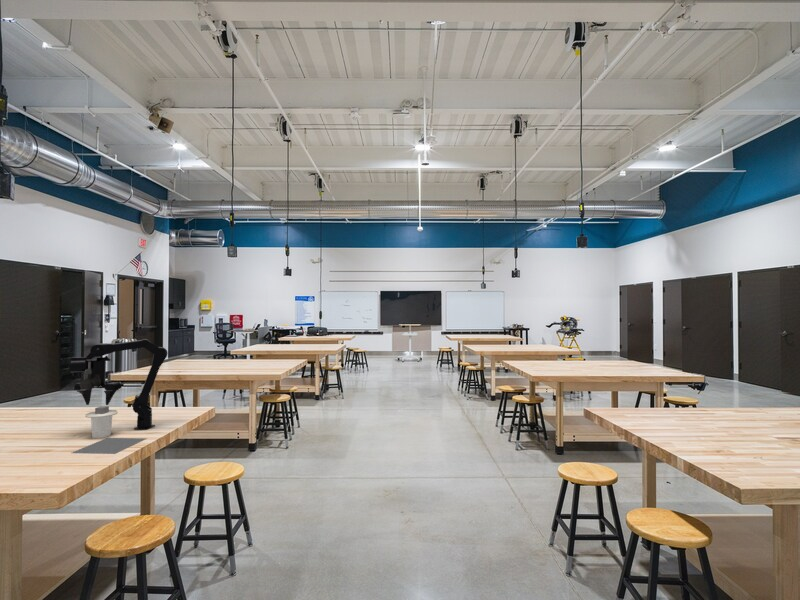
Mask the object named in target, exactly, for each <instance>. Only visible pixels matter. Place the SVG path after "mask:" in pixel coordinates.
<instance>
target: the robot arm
mask: <svg viewBox="0 0 800 600" xmlns="http://www.w3.org/2000/svg"><path fill="white" fill-rule="evenodd" d="M141 348H144V349H145V350H147V351H149V352H150V353H151V354H152V355H153V358H152V360H151V361H152V362H151V363H152V364H151V366H150V369H149V370H148V373H147V377H146V379H145V382H144V385H143V386H142V389H141V391H140V393H139V394H138V395H137V394H136V395H135V397H134V400H133V401H132V404H131V406H132V410H133V412H134V413H135V414H137V416H136V417H137V421H136V426H135V427H134V428H133V429H134V430H149V429H151V428H153V427H155V425H156V424H152V423H153V413H152V411H153V408H152V406H150V405H148V404H149V398H150V394H151V391H152V389H153V386H154V384H155V381H156V378H157V375H158V372H159V370H160V368H161V366H162V365H163V363H164V361H165V360H166V358H167V357H168V350H167V349H166V347H164V346H163V347H162V346H158V345H157V344H155V343H154V342H152V341H150V340H149V339H147V338H143V339H139V340H132V341H123V342H118V343H108V342H107V343H101V342H100V343H95V344H93V346H91V348H90V353H88V354H87V355H86V356H84V357H83V356H79V357H77V356H72V357H71V358H70V359H71V360H70V364H69V373H84V372H87V370H90V373H88V375H87V378H85V379H84V380H82V381H80V382H77V383H75V384H74V385H73V390H74V391H76V392H77V393H79V394H81V396H82V398H83V400H84V402H85V404H86V406H88V405H90V402H91V398H92V390H93V389H104V391H103V393H105V405H106V406H109V404H110V402H111V400H112V398H113V397H114V395H115V393H116V392H117V391H119V389H120V390H121V389H122V383H121V382H119V381H118V382H114V381H112V382H108V381H107V380H106V376H107V375H108V374H109V372H108V371H106V369H107V366H106V365H107V362H110V361H112V359H111V358H110V357H109V356H108V355H110V354H112V353H116V352H121V351H122V352H123V351H128V350H134V349H141ZM95 357H96V359H93V358H95Z"/></svg>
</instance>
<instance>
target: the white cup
mask: <svg viewBox="0 0 800 600" xmlns="http://www.w3.org/2000/svg"><path fill="white" fill-rule="evenodd" d="M90 420H91V422H90V423H91V426H90V427H91V437H92V438H93V439H102V438H108V437H109V436H111V434H112V433H111V432H112V424H113V415H112V416H107V417H99V418H90Z"/></svg>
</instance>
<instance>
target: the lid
mask: <svg viewBox="0 0 800 600" xmlns="http://www.w3.org/2000/svg"><path fill="white" fill-rule="evenodd" d="M117 414H119V411H118V410H116V409H110V406H109V405H106V406H105V405H103V406H102V405H101V406H97V407H95V408H94V411H91V412H87V413H85V415H84V416H85V418H90V419H91V418H99V417H107V416H112V417H113V416H115V415H117Z"/></svg>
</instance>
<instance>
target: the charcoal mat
mask: <svg viewBox="0 0 800 600" xmlns="http://www.w3.org/2000/svg"><path fill="white" fill-rule="evenodd" d="M145 440H148V437H147V438H145V437H140V438H139V437H138V438H136V437H105V438H103V439H101V440H98V441H96V442H94V443H92V444H90V445H87V446H84V447H81V448H79V449H76V450H74V451H71V454H99V455H100V454H101V455H102V454H103V455H116V454H118V453H120V452H122V451H124V450H127V449H129V448H131V447H133V446H135V445H137V444H139V443H141V442H143V441H145Z"/></svg>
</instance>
